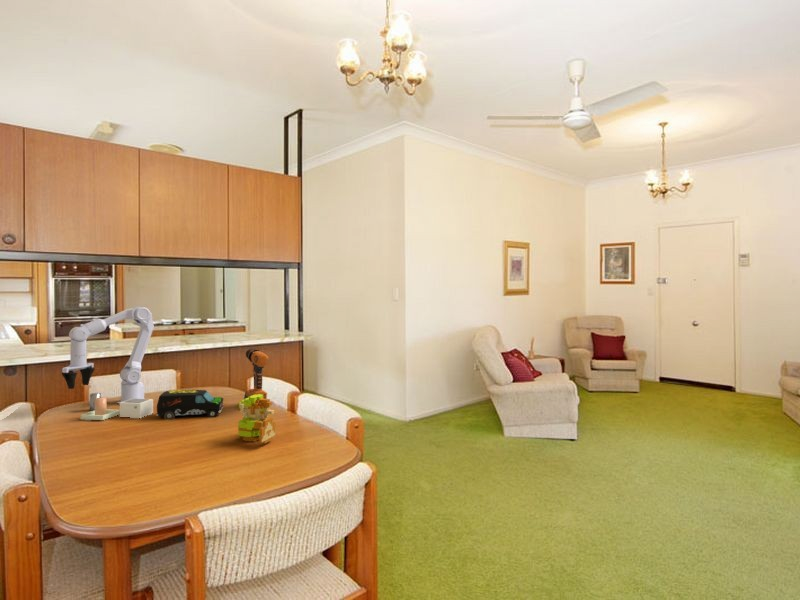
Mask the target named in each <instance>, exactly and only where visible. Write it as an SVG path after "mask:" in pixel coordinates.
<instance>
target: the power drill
mask: <svg viewBox="0 0 800 600" xmlns="http://www.w3.org/2000/svg"><path fill="white" fill-rule="evenodd" d="M245 357H246V358H247V360H249V361H250V363H251V365H252V373H253V388H249V389H246V390H245V392H244V393H245V394H244V397H243V400H244V399H246V398H248V397H250V396H252V395H258V394H262V395H263V398H264V399H268V398H267V396H268V395H267V394H268V393H267V392H266V391H264V389H263V369H264V368H265V366H266V365H267V364H268V363H269V360H270V359H269V356H268V355H267V354H266V353H265V352H263V351H261V350H258V349H253V348H252V349H250V348H249V349H248V350H246V352H245Z"/></svg>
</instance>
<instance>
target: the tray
mask: <svg viewBox="0 0 800 600" xmlns="http://www.w3.org/2000/svg"><path fill="white" fill-rule="evenodd" d="M119 414H120V409H112V408H111V409H107V414H105V415H95V410H94V411H87V412H86V413H83V414H80V420H81V419H85V420H84V421H91V420H104V421H106V420H105V419H107V420H109V419H108V418H110V419H112V418H111V417H113V418H115V417H114V416H116V417H118V416H120V415H119ZM117 415H118V416H117Z"/></svg>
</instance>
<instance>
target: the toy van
mask: <svg viewBox="0 0 800 600" xmlns="http://www.w3.org/2000/svg"><path fill="white" fill-rule="evenodd" d="M223 403H224V398H223V397H222V396H213V395H212V394H211V393H209V391H208V390H206V389H180V390H178V389H177V390H166V391H164V392H162V393H161V394H160V395H159V396H158V400H157V403H156V414H155V416H156V417H163V418H164V419H165V420H173V419H175V418H176V417H177V416H189V415H191V416H193V415H206V416H207V418H217V417H218V416H219V415H218V414H220V413H221V412H222V410H223V409H224V404H223Z"/></svg>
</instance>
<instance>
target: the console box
mask: <svg viewBox="0 0 800 600" xmlns="http://www.w3.org/2000/svg"><path fill="white" fill-rule="evenodd" d="M119 410H120V415H119V418H120V417H130V418H129V419H139V418H140V419H142V417H143V418H145V417H147V415H148V416H151V415H152V413H153V414H154V398H144V399H137V398H133V399H130V400H127V401H124V402H121V403H120V404H119ZM144 416H145V417H144Z"/></svg>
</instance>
